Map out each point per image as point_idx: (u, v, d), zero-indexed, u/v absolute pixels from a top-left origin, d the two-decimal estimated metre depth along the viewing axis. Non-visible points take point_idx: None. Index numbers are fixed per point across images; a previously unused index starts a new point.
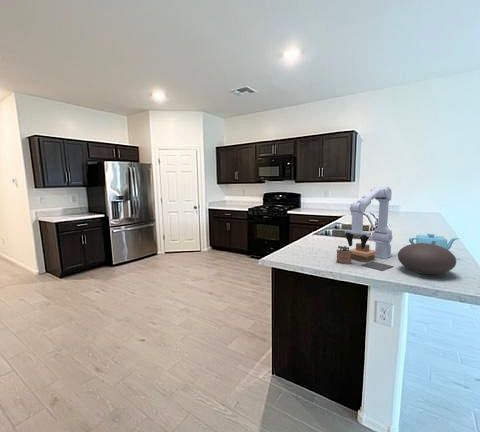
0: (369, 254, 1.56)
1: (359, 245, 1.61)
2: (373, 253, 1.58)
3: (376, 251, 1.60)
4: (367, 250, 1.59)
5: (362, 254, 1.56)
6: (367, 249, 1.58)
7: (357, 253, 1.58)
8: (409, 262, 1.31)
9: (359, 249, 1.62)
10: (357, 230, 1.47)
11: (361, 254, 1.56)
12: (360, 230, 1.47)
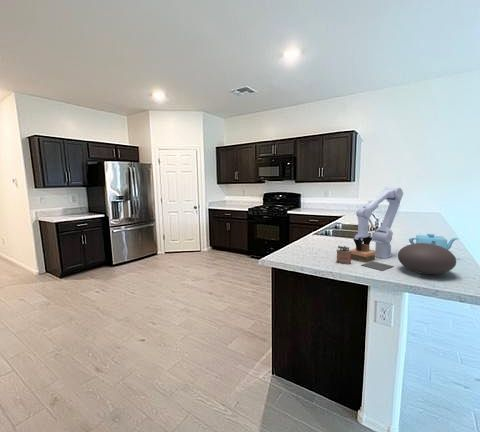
0: (369, 254, 1.56)
1: None
2: (373, 253, 1.58)
3: (376, 251, 1.60)
4: (367, 250, 1.59)
5: (362, 254, 1.56)
6: (367, 249, 1.58)
7: (357, 253, 1.58)
8: (409, 262, 1.31)
9: None
10: None
11: (361, 254, 1.56)
12: (359, 233, 1.60)
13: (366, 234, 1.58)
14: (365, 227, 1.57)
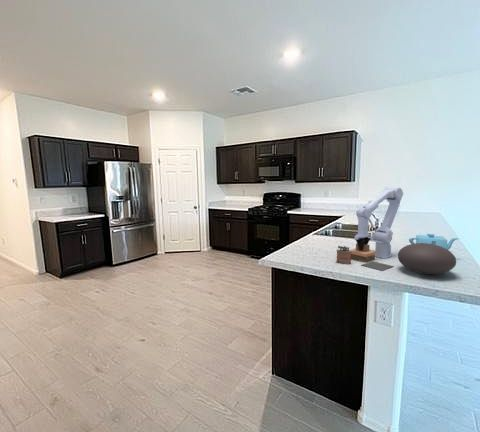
0: (369, 254, 1.56)
1: None
2: (373, 253, 1.58)
3: (376, 251, 1.60)
4: (367, 250, 1.59)
5: (362, 254, 1.56)
6: (367, 249, 1.58)
7: (357, 253, 1.58)
8: (409, 262, 1.31)
9: None
10: None
11: (361, 254, 1.56)
12: (359, 233, 1.60)
13: (366, 234, 1.58)
14: (365, 227, 1.57)
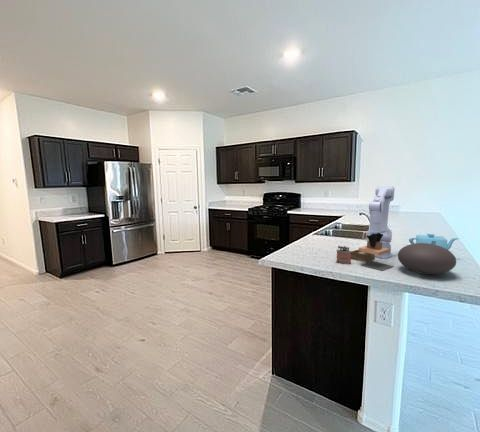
0: (382, 252, 1.44)
1: None
2: (386, 251, 1.46)
3: (389, 249, 1.48)
4: (379, 248, 1.46)
5: (374, 252, 1.44)
6: (379, 247, 1.46)
7: (368, 251, 1.46)
8: (409, 262, 1.31)
9: (370, 247, 1.50)
10: None
11: (373, 252, 1.44)
12: (370, 229, 1.48)
13: (379, 230, 1.46)
14: (380, 222, 1.46)
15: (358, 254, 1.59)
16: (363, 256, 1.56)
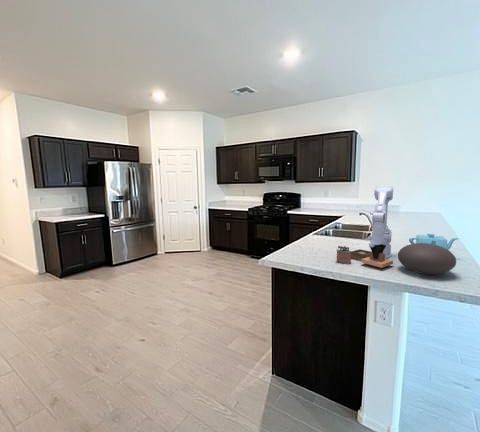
0: (385, 264, 1.42)
1: None
2: (389, 263, 1.44)
3: (392, 261, 1.46)
4: (382, 260, 1.44)
5: (377, 264, 1.41)
6: (382, 259, 1.44)
7: (371, 263, 1.44)
8: (409, 262, 1.31)
9: (373, 258, 1.47)
10: (372, 239, 1.47)
11: (376, 264, 1.42)
12: (373, 240, 1.45)
13: (382, 241, 1.43)
14: (383, 233, 1.43)
15: (358, 254, 1.59)
16: (363, 256, 1.56)
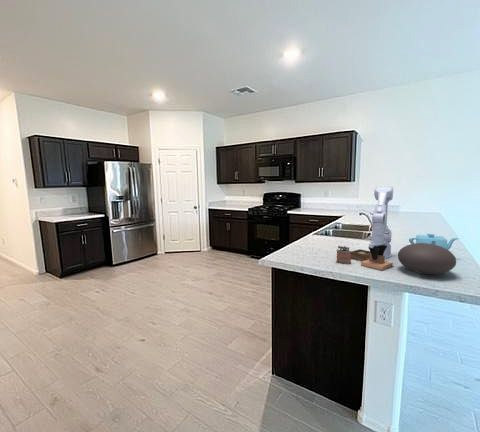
0: (385, 267, 1.42)
1: None
2: (389, 265, 1.44)
3: (392, 263, 1.46)
4: (382, 262, 1.44)
5: (377, 267, 1.42)
6: (382, 261, 1.44)
7: (371, 265, 1.44)
8: (409, 262, 1.31)
9: (373, 261, 1.48)
10: (372, 240, 1.47)
11: (376, 266, 1.42)
12: (373, 241, 1.45)
13: (382, 242, 1.44)
14: (383, 234, 1.44)
15: (358, 254, 1.59)
16: (363, 256, 1.56)
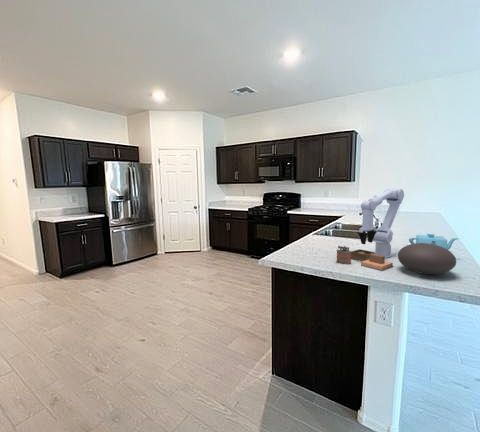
0: (385, 267, 1.42)
1: (373, 256, 1.47)
2: (389, 265, 1.44)
3: (392, 263, 1.46)
4: (382, 262, 1.44)
5: (377, 267, 1.42)
6: (382, 261, 1.44)
7: (371, 265, 1.44)
8: (409, 262, 1.31)
9: (373, 261, 1.48)
10: (362, 226, 1.59)
11: (376, 266, 1.42)
12: (363, 226, 1.58)
13: (371, 227, 1.56)
14: (370, 220, 1.55)
15: (358, 254, 1.59)
16: (363, 256, 1.56)
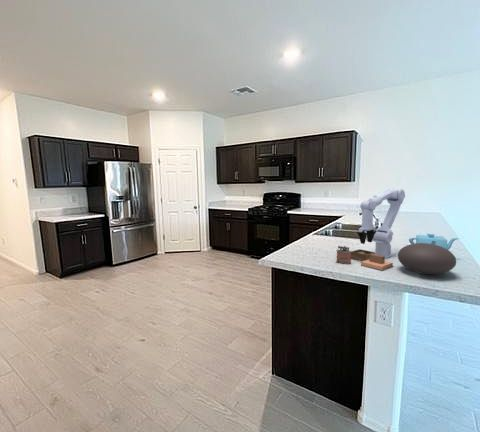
0: (385, 267, 1.42)
1: (373, 256, 1.47)
2: (389, 265, 1.44)
3: (392, 263, 1.46)
4: (382, 262, 1.44)
5: (377, 267, 1.42)
6: (382, 261, 1.44)
7: (371, 265, 1.44)
8: (409, 262, 1.31)
9: (373, 261, 1.48)
10: None
11: (376, 266, 1.42)
12: (363, 226, 1.58)
13: (370, 227, 1.56)
14: (370, 220, 1.56)
15: (358, 254, 1.59)
16: (363, 256, 1.56)
